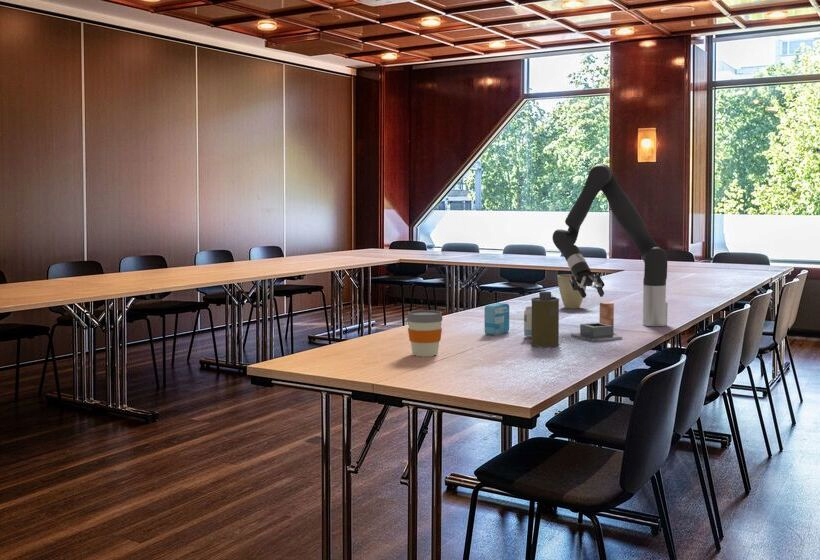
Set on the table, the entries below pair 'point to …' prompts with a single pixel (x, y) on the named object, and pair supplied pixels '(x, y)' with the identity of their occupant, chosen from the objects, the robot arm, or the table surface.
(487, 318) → the data package
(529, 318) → the beverage can
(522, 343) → the table surface
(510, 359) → the table surface
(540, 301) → the canister
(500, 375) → the table surface
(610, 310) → the terracotta peg
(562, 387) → the table surface
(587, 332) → the socket plate
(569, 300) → the plant pot
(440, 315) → the reusable coffee cup
